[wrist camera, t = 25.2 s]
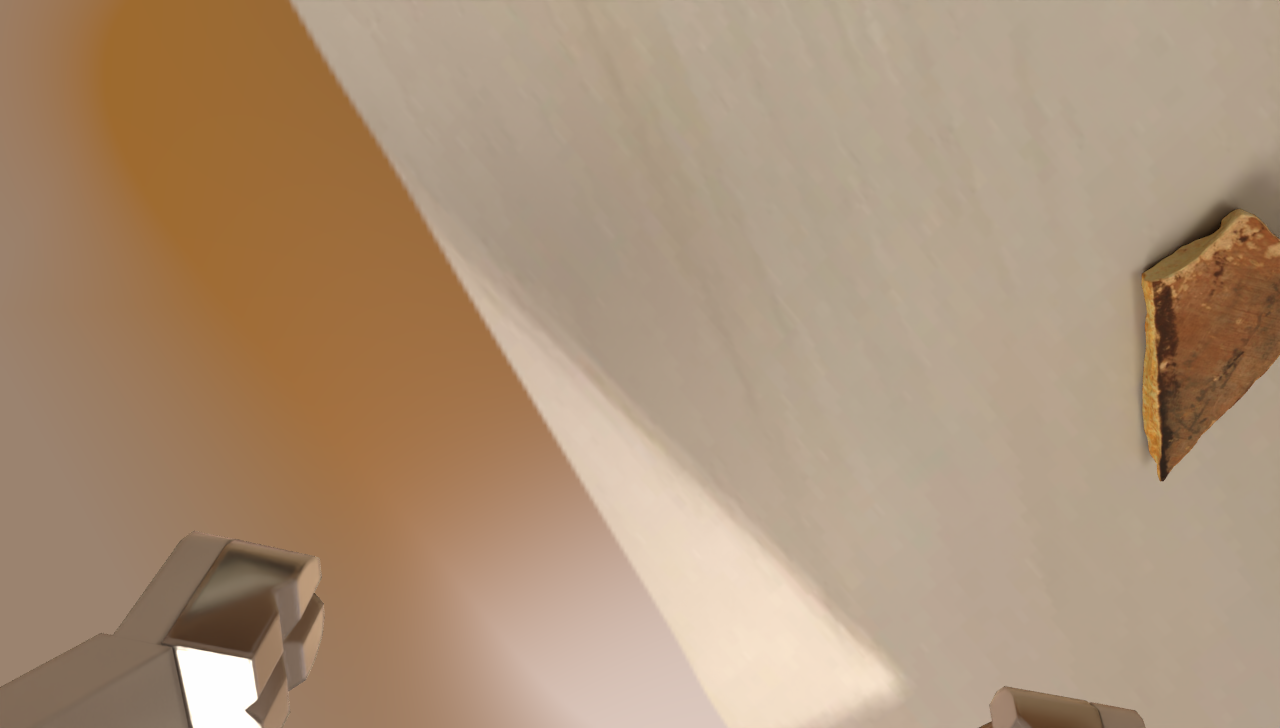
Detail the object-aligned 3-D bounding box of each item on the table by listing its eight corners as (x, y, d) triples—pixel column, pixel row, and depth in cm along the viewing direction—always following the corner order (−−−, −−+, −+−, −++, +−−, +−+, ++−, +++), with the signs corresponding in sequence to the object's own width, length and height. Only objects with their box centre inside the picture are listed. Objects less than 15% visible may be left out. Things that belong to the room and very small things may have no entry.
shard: (1142, 465, 47) (1166, 486, 45) (1026, 395, 44) (1047, 415, 42) (1320, 273, 43) (1352, 289, 42) (1206, 184, 41) (1235, 198, 39)
